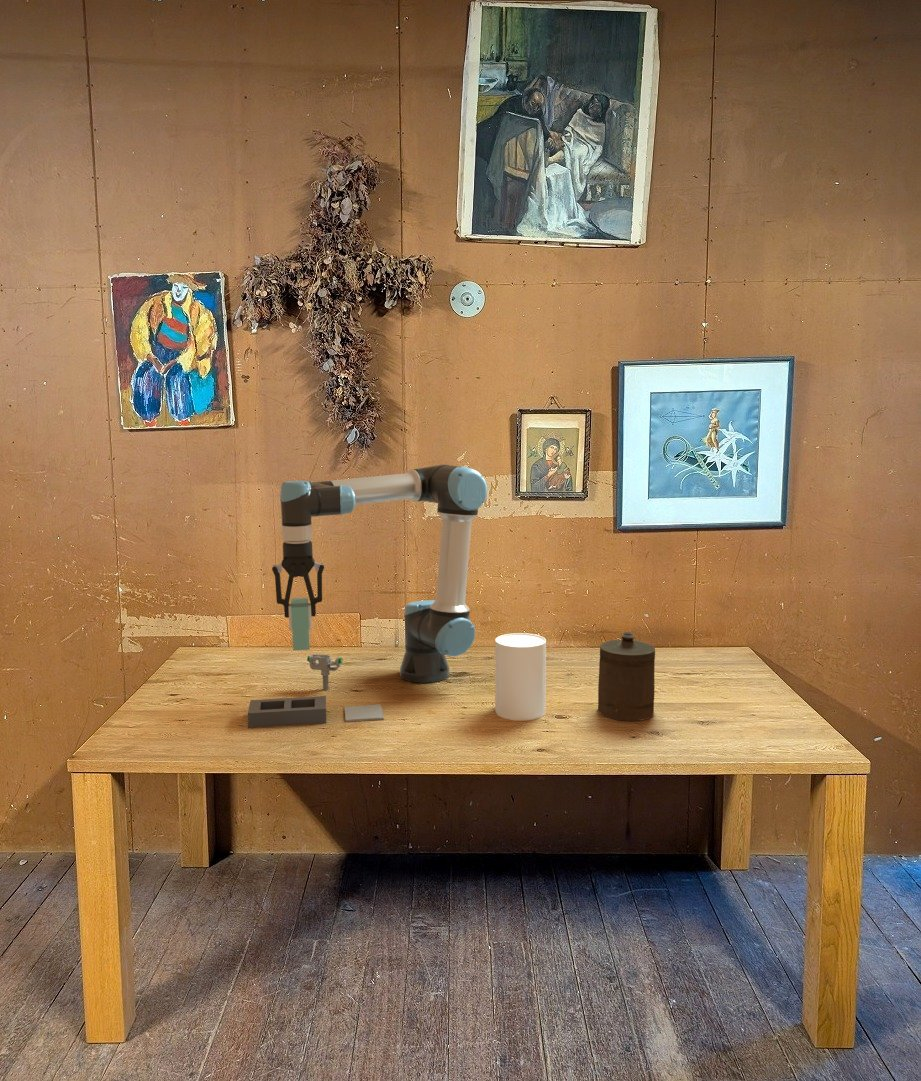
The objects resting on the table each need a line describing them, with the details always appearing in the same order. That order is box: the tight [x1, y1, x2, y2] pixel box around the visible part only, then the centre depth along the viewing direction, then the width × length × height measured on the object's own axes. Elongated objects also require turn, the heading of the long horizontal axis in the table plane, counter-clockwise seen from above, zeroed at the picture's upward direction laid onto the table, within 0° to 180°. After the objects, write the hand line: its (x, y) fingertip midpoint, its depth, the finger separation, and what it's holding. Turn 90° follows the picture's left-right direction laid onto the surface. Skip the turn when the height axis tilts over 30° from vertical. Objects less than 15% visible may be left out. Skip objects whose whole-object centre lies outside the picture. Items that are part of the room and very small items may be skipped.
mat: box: [344, 704, 385, 723], centre depth 238 cm, size 10×10×1 cm
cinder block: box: [247, 695, 327, 729], centre depth 234 cm, size 20×10×4 cm, turn 99°
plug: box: [290, 596, 311, 651], centre depth 231 cm, size 4×4×13 cm
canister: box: [494, 632, 547, 722], centre depth 237 cm, size 14×14×20 cm
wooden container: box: [597, 631, 656, 722], centre depth 237 cm, size 15×15×22 cm
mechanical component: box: [306, 653, 344, 691], centre depth 257 cm, size 3×10×10 cm, turn 79°
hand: (300, 628), depth 231 cm, fingers closed on plug, 4 cm apart
